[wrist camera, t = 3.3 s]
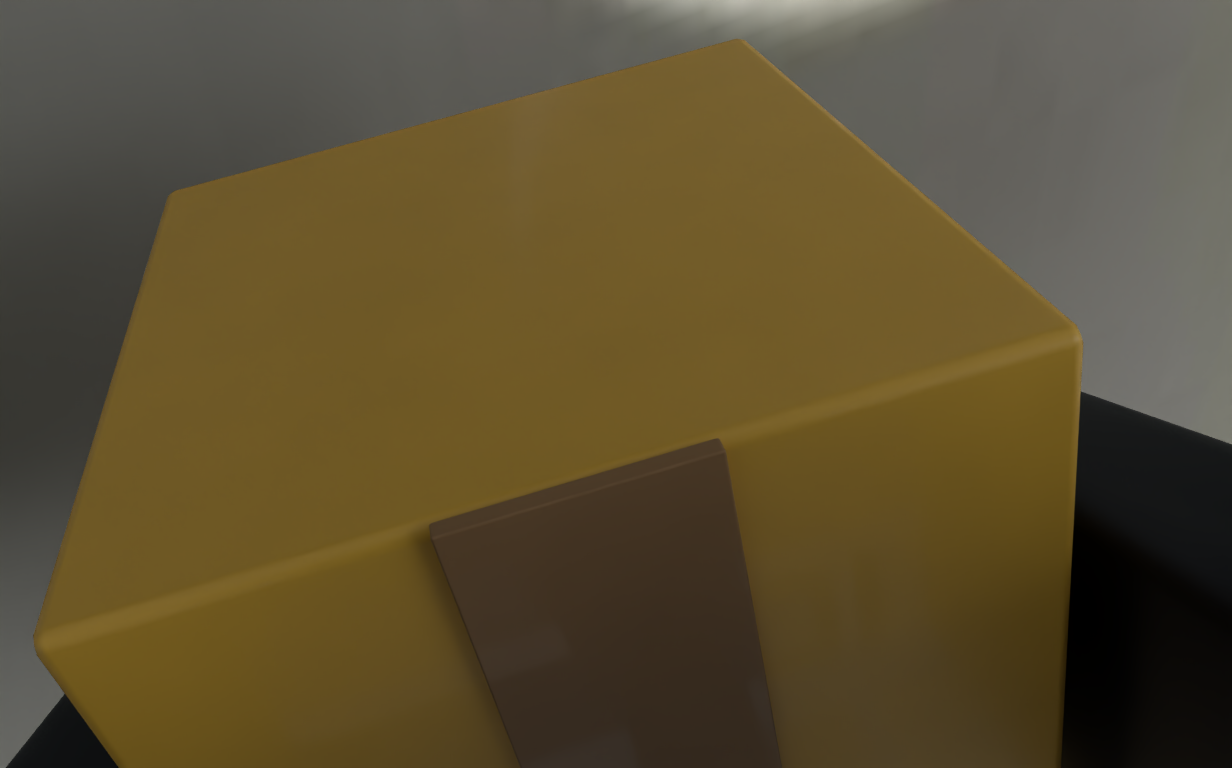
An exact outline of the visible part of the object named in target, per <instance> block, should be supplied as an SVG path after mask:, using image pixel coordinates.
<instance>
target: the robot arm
mask: <svg viewBox="0 0 1232 768" xmlns="http://www.w3.org/2000/svg"><path fill="white" fill-rule="evenodd" d="M6 768H119V767H118V766H117V765H116V763H115V762H114V760H113V759H112V758H111V756H110V755H109V754H108V752H107V751H106V749H105V748H104V747H103V745H102V744H101V743H100V741H99V740H98V738H97V737H96V736H95V734H94V733H93V732H92V730H91V729H90V727H89V726H88V725H87V723H86V722H85V721H84V719H83V718H82V716H81V715H80V714H79V712H78V711H77V709H76V708H75V707H74V705H73V704H72V703H71V701H70V700H69V698H68V697H67V696H66V694H64V695H63V697H62V698H61V699H60V700H59V702H58V703H57V704H56V705H55V707H54V708H53V709H52V711H51V712H50V713H49V714H48V716H47V717H46V718H45V719H44V721H43V722H42V723H41V724H40V726H39V727H38V728H37V729H36V731H35V732H34V733H33V734H32V736H31V737H30V738H29V739H28V741H27V742H26V743H25V744H24V746H23V747H22V748H21V749H20V751H19V752H18V753H17V754H16V756H15V757H14V758H13V759H12V761H11V762H10V763H9V764H8V766H7V767H6ZM1061 768H1232V444H1229V443H1226V442H1223V441H1220V440H1218V439H1215V438H1212V437H1209V436H1206V435H1203V434H1201V433H1198V432H1195V431H1192V430H1189V429H1186V428H1183V427H1181V426H1178V425H1175V424H1172V423H1169V422H1166V421H1163V420H1161V419H1158V418H1155V417H1152V416H1149V415H1146V414H1144V413H1141V412H1138V411H1135V410H1132V409H1129V408H1126V407H1124V406H1121V405H1118V404H1115V403H1112V402H1109V401H1107V400H1104V399H1101V398H1098V397H1095V396H1092V395H1089V394H1087V393H1084V392H1081V394H1080V412H1079V431H1078V450H1077V469H1076V488H1075V507H1074V526H1073V545H1072V564H1071V583H1070V602H1069V621H1068V640H1067V659H1066V678H1065V697H1064V716H1063V735H1062V754H1061Z"/></svg>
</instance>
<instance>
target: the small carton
mask: <svg viewBox="0 0 1232 768" xmlns="http://www.w3.org/2000/svg"><path fill="white" fill-rule="evenodd" d="M1082 356H1083V340H1082V337H1081V334H1080V332H1079V330H1078V328H1077V326H1076V325H1075V324H1074V323H1073V322H1072V321H1071V320H1070V319H1068V318H1067V317H1066V316H1065V315H1064V314H1063V313H1061V312H1060V311H1059V310H1058V309H1057V308H1056V307H1054V306H1053V305H1052V304H1051V303H1050V302H1049V301H1048V300H1046V299H1045V298H1044V297H1043V296H1042V295H1041V294H1039V293H1038V292H1037V291H1036V290H1035V289H1034V288H1032V287H1031V286H1030V285H1029V284H1028V283H1027V282H1025V281H1024V280H1023V279H1022V278H1021V277H1020V276H1018V275H1017V274H1016V273H1015V272H1014V271H1013V270H1011V269H1010V268H1009V267H1008V266H1007V265H1006V264H1004V263H1003V262H1002V261H1001V260H1000V259H999V258H997V257H996V256H995V255H994V254H993V253H992V252H990V251H989V250H988V249H987V248H986V247H985V246H983V245H982V244H981V243H980V242H979V241H978V240H976V239H975V238H974V237H973V236H972V235H971V234H969V233H968V232H967V231H966V230H965V229H964V228H962V227H961V226H960V225H959V224H958V223H957V222H956V221H954V220H953V219H952V218H951V217H950V216H949V215H947V214H946V213H945V212H944V211H943V210H942V209H940V208H939V207H938V206H937V205H936V204H935V203H933V202H932V201H931V200H930V199H929V198H928V197H926V196H925V195H924V194H923V193H922V192H921V191H919V190H918V189H917V188H916V187H915V186H914V185H912V184H911V183H910V182H909V181H908V180H907V179H905V178H904V177H903V176H902V175H901V174H900V173H898V172H897V171H896V170H895V169H894V168H893V167H891V166H890V165H889V164H888V163H887V162H886V161H884V160H883V159H882V158H881V157H880V156H879V155H877V154H876V153H875V152H874V151H873V150H872V149H871V148H869V147H868V146H867V145H866V144H865V143H864V142H862V141H861V140H860V139H859V138H858V137H857V136H855V135H854V134H853V133H852V132H851V131H850V130H848V129H847V128H846V127H845V126H844V125H843V124H841V123H840V122H839V121H838V120H837V119H836V118H834V117H833V116H832V115H831V114H830V113H829V112H827V111H826V110H825V109H824V108H823V107H822V106H820V105H819V104H818V103H817V102H816V101H815V100H813V99H812V98H811V97H810V96H809V95H808V94H806V93H805V92H804V91H803V90H802V89H801V88H799V87H798V86H797V85H796V84H795V83H794V82H792V81H791V80H790V79H789V78H788V77H787V76H785V75H784V74H783V73H782V72H781V71H780V70H779V69H777V68H776V67H775V66H774V65H773V64H772V63H770V62H769V61H768V60H767V59H766V58H765V57H763V56H762V55H761V54H760V53H759V52H758V51H756V50H755V49H754V48H753V47H752V46H751V45H749V44H748V43H747V42H746V41H745V40H741V39H734V40H730V41H727V42H723V43H719V44H716V45H712V46H708V47H704V48H701V49H697V50H693V51H690V52H686V53H682V54H679V55H675V56H671V57H668V58H664V59H660V60H656V61H653V62H649V63H645V64H642V65H638V66H634V67H631V68H627V69H623V70H619V71H616V72H612V73H608V74H605V75H601V76H597V77H594V78H590V79H586V80H583V81H579V82H575V83H571V84H568V85H564V86H560V87H557V88H553V89H549V90H546V91H542V92H538V93H535V94H531V95H527V96H523V97H520V98H516V99H512V100H509V101H505V102H501V103H498V104H494V105H490V106H486V107H483V108H479V109H475V110H472V111H468V112H464V113H461V114H457V115H453V116H450V117H446V118H442V119H438V120H435V121H431V122H427V123H424V124H420V125H416V126H413V127H409V128H405V129H402V130H398V131H394V132H390V133H387V134H383V135H379V136H376V137H372V138H368V139H365V140H361V141H357V142H353V143H350V144H346V145H342V146H339V147H335V148H331V149H328V150H324V151H320V152H317V153H313V154H309V155H305V156H302V157H298V158H294V159H291V160H287V161H283V162H280V163H276V164H272V165H268V166H265V167H261V168H257V169H254V170H250V171H246V172H243V173H239V174H235V175H232V176H228V177H224V178H220V179H217V180H213V181H209V182H206V183H202V184H198V185H195V186H191V187H187V188H184V189H180V190H176V191H174V192H172V193H171V194H170V195H169V196H168V198H167V201H166V204H165V208H164V211H163V214H162V217H161V221H160V224H159V227H158V230H157V234H156V237H155V240H154V243H153V247H152V250H151V253H150V257H149V260H148V263H147V266H146V270H145V273H144V276H143V279H142V283H141V286H140V289H139V292H138V296H137V299H136V302H135V305H134V309H133V312H132V315H131V319H130V322H129V325H128V328H127V332H126V335H125V338H124V341H123V345H122V348H121V351H120V354H119V358H118V361H117V364H116V367H115V371H114V374H113V377H112V381H111V384H110V387H109V390H108V394H107V397H106V400H105V403H104V407H103V410H102V413H101V416H100V420H99V423H98V426H97V429H96V433H95V436H94V439H93V443H92V446H91V449H90V452H89V456H88V459H87V462H86V465H85V469H84V472H83V475H82V478H81V482H80V485H79V488H78V491H77V495H76V498H75V501H74V505H73V508H72V511H71V514H70V518H69V521H68V524H67V527H66V531H65V534H64V537H63V540H62V544H61V547H60V550H59V553H58V557H57V560H56V563H55V567H54V570H53V573H52V576H51V580H50V583H49V586H48V589H47V593H46V596H45V599H44V602H43V606H42V609H41V612H40V615H39V619H38V622H37V625H36V629H35V632H34V635H33V637H34V647H35V650H36V653H37V656H38V657H39V658H40V660H41V661H42V663H43V664H44V665H45V667H46V668H47V670H48V671H49V672H50V674H51V675H52V676H53V678H54V679H55V681H56V682H57V683H58V685H59V686H60V687H61V689H62V690H63V692H64V693H65V694H66V696H67V697H68V698H69V700H70V701H71V703H72V704H73V705H74V707H75V708H76V709H77V711H78V712H79V714H80V715H81V716H82V718H83V719H84V721H85V722H86V723H87V725H88V726H89V727H90V729H91V730H92V732H93V733H94V734H95V736H96V737H97V738H98V740H99V741H100V743H101V744H102V745H103V747H104V748H105V749H106V751H107V752H108V754H109V755H110V756H111V758H112V759H113V760H114V762H115V763H116V765H117V766H118V767H119V768H1061V754H1062V735H1063V716H1064V697H1065V678H1066V659H1067V640H1068V621H1069V602H1070V583H1071V564H1072V545H1073V526H1074V507H1075V488H1076V469H1077V450H1078V431H1079V412H1080V394H1081V375H1082Z"/></svg>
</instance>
